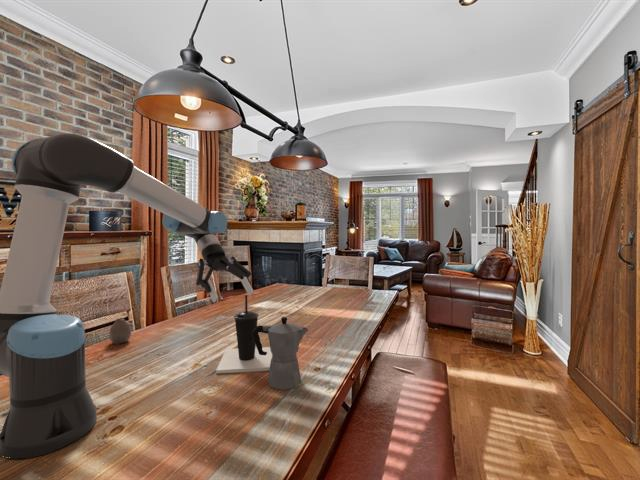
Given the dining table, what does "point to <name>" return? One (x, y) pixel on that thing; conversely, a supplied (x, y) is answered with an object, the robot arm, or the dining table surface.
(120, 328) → the grey rounded lump
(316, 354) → the dining table surface
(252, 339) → the drinking cup
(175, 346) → the dining table surface
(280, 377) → the coffeepot
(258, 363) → the tile
